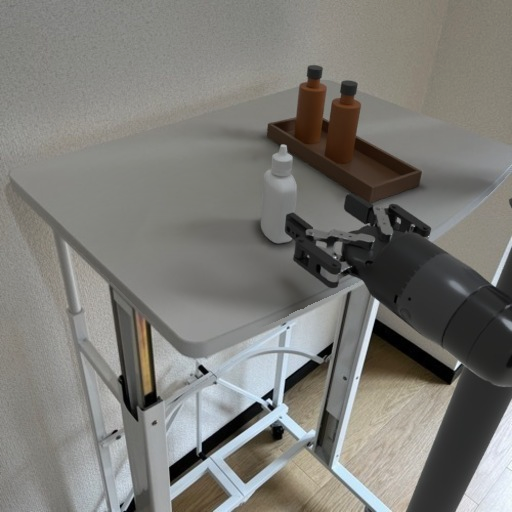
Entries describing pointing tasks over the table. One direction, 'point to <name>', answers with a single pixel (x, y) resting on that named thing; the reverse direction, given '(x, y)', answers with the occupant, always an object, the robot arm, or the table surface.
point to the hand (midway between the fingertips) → (318, 210)
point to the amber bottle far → (310, 107)
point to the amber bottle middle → (343, 124)
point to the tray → (351, 163)
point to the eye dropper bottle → (278, 196)
